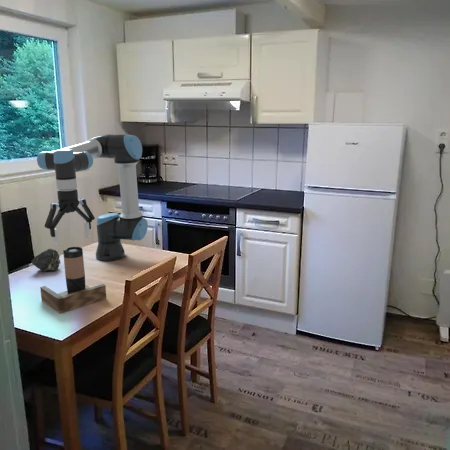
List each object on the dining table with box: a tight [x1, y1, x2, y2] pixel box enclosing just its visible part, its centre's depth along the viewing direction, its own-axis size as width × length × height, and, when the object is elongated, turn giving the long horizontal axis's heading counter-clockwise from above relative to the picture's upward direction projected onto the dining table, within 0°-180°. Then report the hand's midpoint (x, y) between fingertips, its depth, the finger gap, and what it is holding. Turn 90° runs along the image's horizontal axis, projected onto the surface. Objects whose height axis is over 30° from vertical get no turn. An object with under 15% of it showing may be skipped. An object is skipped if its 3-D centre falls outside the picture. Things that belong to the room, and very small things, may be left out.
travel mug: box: [62, 246, 86, 294], centre depth 181 cm, size 8×8×20 cm
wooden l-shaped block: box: [39, 283, 107, 314], centre depth 181 cm, size 20×17×6 cm
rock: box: [31, 248, 61, 272], centre depth 214 cm, size 12×10×10 cm
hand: (72, 240), depth 178 cm, fingers open, 13 cm apart
